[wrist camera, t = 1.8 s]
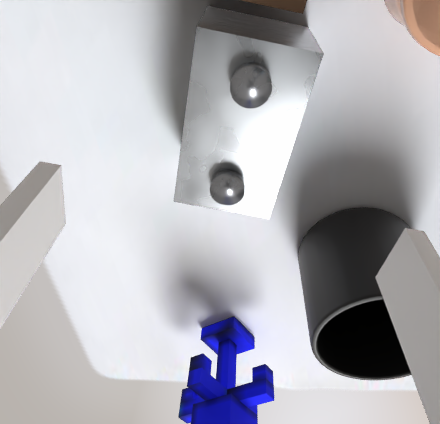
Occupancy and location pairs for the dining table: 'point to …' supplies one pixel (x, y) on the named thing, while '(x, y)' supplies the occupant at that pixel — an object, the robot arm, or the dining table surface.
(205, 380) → the figurine
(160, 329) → the dining table surface
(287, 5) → the stand
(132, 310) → the dining table surface
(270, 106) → the block
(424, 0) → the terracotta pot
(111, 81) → the dining table surface
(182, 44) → the dining table surface
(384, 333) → the mug
